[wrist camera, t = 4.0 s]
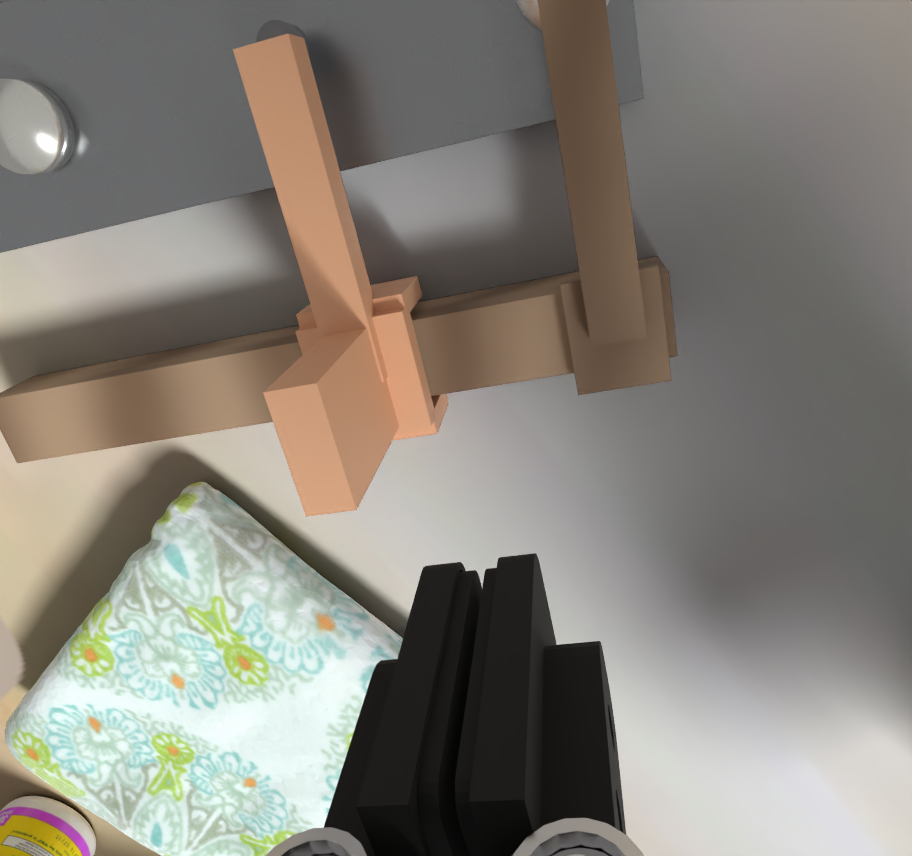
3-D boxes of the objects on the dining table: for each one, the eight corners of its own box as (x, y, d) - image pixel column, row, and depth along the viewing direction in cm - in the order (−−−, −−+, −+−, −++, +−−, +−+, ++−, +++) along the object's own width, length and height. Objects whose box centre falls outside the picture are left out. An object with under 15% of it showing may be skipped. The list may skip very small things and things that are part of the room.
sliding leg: (354, 14, 24) (236, -42, 15) (448, 403, 29) (401, 525, 21) (247, 45, 25) (78, 8, 16) (357, 418, 30) (276, 541, 21)
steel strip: (608, -184, 21) (613, -214, 19) (640, 99, 24) (646, 97, 22) (-120, 53, 27) (-174, 49, 25) (-23, 257, 30) (-64, 268, 28)
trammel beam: (622, -58, 23) (638, -101, 18) (667, 344, 28) (687, 389, 23) (-78, 143, 29) (-198, 149, 24) (65, 444, 34) (-11, 495, 29)
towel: (31, 688, 42) (-35, 760, 37) (210, 459, 33) (154, 515, 29) (275, 850, 45) (242, 935, 40) (496, 677, 37) (486, 759, 32)
